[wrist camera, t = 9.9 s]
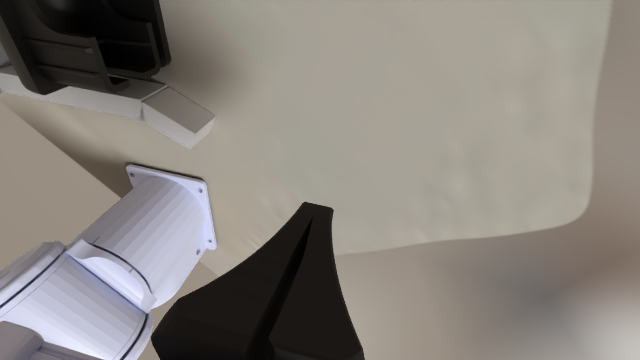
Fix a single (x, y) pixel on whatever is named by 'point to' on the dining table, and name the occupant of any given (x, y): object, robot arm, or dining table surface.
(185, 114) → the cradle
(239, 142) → the dining table surface
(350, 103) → the dining table surface
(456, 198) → the dining table surface
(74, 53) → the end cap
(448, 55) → the dining table surface
